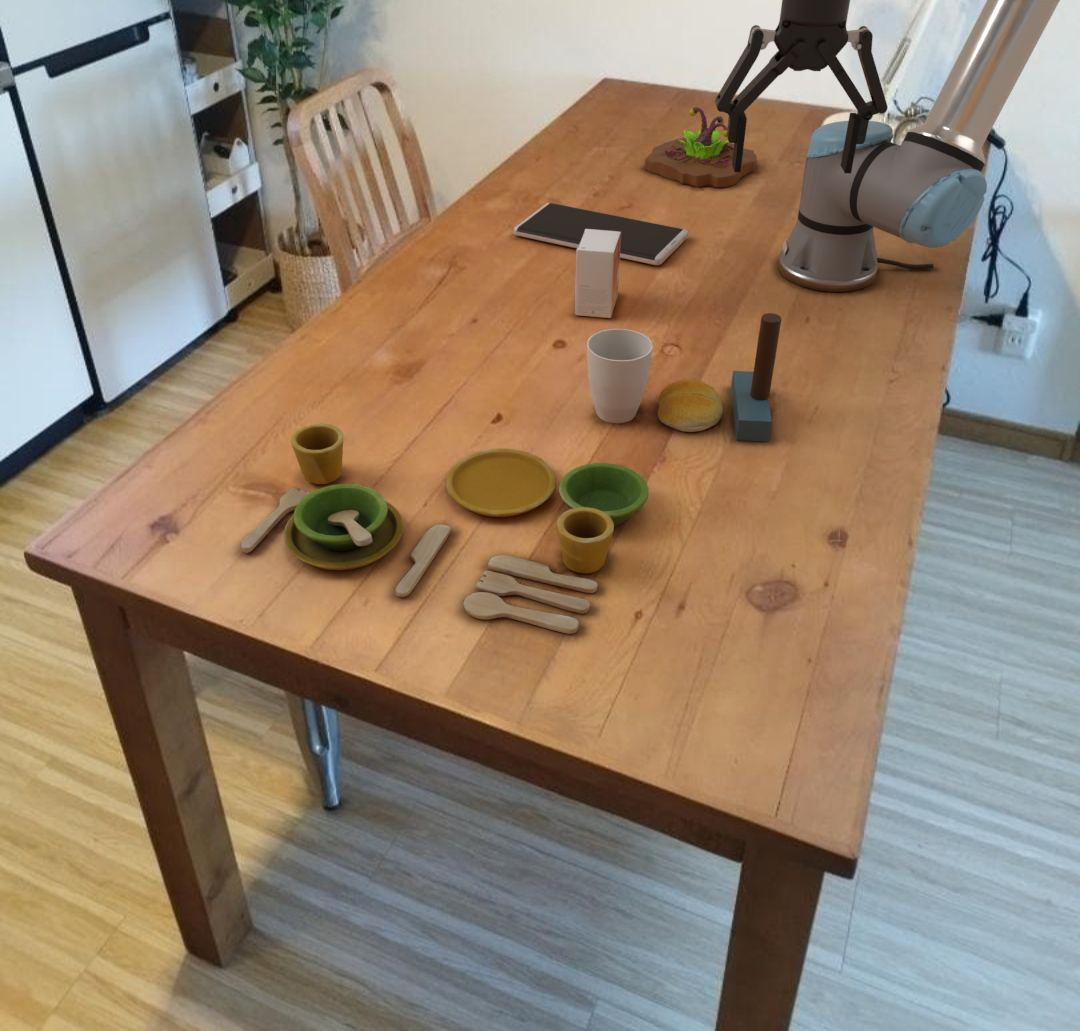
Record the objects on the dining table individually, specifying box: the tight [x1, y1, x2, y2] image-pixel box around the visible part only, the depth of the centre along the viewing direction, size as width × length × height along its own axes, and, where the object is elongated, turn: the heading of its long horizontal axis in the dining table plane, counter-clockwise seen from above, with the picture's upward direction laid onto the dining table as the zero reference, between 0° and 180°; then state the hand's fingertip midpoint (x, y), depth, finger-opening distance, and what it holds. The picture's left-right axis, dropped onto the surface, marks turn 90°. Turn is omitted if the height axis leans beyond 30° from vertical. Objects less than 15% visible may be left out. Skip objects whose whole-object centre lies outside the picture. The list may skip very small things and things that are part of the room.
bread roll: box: [656, 378, 724, 433], centre depth 137 cm, size 8×9×4 cm
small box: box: [574, 229, 621, 319], centre depth 159 cm, size 8×6×10 cm
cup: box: [586, 328, 653, 424], centre depth 135 cm, size 8×8×10 cm
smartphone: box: [513, 202, 689, 266], centre depth 181 cm, size 13×27×2 cm, turn 63°
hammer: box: [730, 312, 782, 443], centre depth 134 cm, size 4×12×14 cm, turn 175°
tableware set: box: [241, 423, 649, 635], centre depth 119 cm, size 41×28×6 cm
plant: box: [644, 106, 757, 189], centre depth 205 cm, size 20×20×11 cm
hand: (790, 169), depth 133 cm, fingers open, 13 cm apart
